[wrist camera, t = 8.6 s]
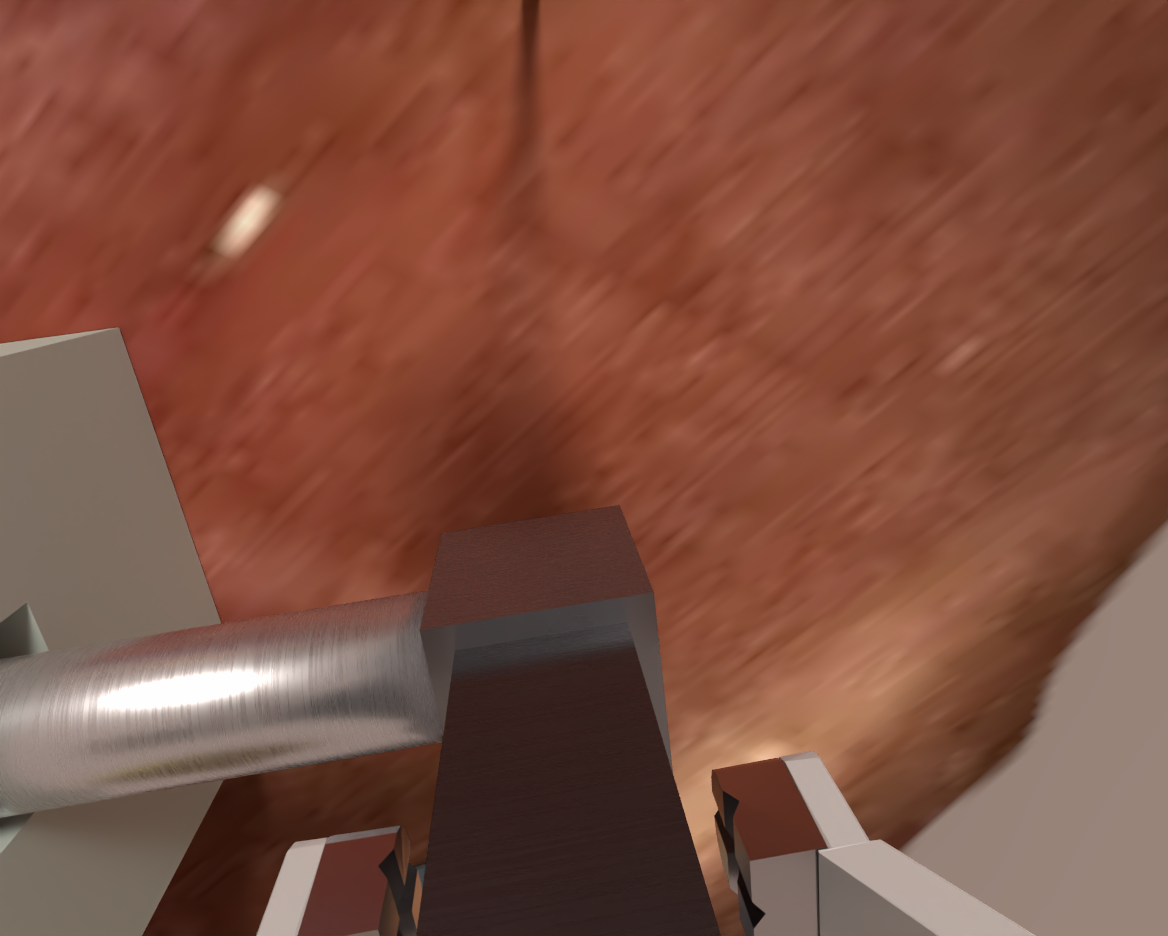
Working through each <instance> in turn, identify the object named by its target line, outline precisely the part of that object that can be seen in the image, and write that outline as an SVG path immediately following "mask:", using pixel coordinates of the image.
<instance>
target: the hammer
mask: <svg viewBox="0 0 1168 936" xmlns="http://www.w3.org/2000/svg"><path fill="white" fill-rule="evenodd" d="M440 742H442V748H441V756H440V763H439V770H438V778H437V785H436V792H435V800H434V807H433V815H432V822H431V829H430V837H429V844H428V851H427V859H426V866H425V874H424V881H423V888H422V896H421V903H420V910H419V918H418V925H417V932H416V936H721V935H720V931H719V928H718V925H717V921H716V918H715V914H714V911H713V908H712V904H711V901H710V898H709V894H708V891H707V887H706V884H705V881H704V877H703V874H702V871H701V867H700V864H699V860H698V857H697V854H696V850H695V847H694V844H693V840H692V837H691V833H690V830H689V827H688V823H687V820H686V817H685V813H684V810H683V806H682V803H681V800H680V796H679V793H678V790H677V786H676V783H675V779H674V776H673V770H672V760H671V751H670V742H669V732H668V723H667V713H666V704H665V695H664V685H663V676H662V666H661V657H660V648H659V638H658V629H657V619H656V610H655V601H654V592H653V589H652V587H651V584H650V582H649V579H648V577H647V574H646V571H645V569H644V566H643V564H642V561H641V559H640V556H639V554H638V551H637V549H636V546H635V543H634V541H633V538H632V536H631V533H630V531H629V528H628V526H627V523H626V520H625V518H624V515H623V513H622V510H621V508H620V505H618V506H612V507H605V508H599V509H592V510H586V511H580V512H573V513H567V514H560V515H554V516H548V517H541V518H535V519H528V520H522V521H516V522H509V523H503V524H496V525H490V526H484V527H477V528H471V529H464V530H458V531H452V532H445V533H442V535H441V539H440V543H439V548H438V552H437V556H436V561H435V565H434V569H433V574H432V578H431V582H430V587H429V590H427V591H421V592H415V593H408V594H402V595H396V596H390V597H383V598H377V599H371V600H365V601H358V602H352V603H346V604H340V605H333V606H327V607H321V608H315V609H308V610H302V611H296V612H290V613H284V614H277V615H271V616H265V617H259V618H252V619H246V620H240V621H234V622H227V623H221V624H215V625H209V626H202V627H196V628H190V629H184V630H177V631H171V632H165V633H159V634H153V635H146V636H140V637H134V638H128V639H121V640H115V641H109V642H103V643H96V644H90V645H84V646H78V647H71V648H65V649H59V650H53V651H46V652H40V653H34V654H28V655H22V656H15V657H9V658H3V659H0V818H3V817H9V816H15V815H20V814H26V813H32V812H38V811H44V810H50V809H55V808H61V807H67V806H73V805H79V804H85V803H90V802H96V801H102V800H108V799H114V798H120V797H125V796H131V795H137V794H143V793H149V792H155V791H160V790H166V789H172V788H178V787H184V786H190V785H195V784H201V783H207V782H213V781H219V780H225V779H230V778H236V777H242V776H248V775H254V774H260V773H265V772H271V771H277V770H283V769H289V768H294V767H300V766H306V765H312V764H318V763H324V762H329V761H335V760H341V759H347V758H353V757H359V756H364V755H370V754H376V753H382V752H388V751H394V750H399V749H405V748H411V747H417V746H423V745H429V744H434V743H440Z"/></svg>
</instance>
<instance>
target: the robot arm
mask: <svg viewBox="0 0 1168 936" xmlns="http://www.w3.org/2000/svg"><path fill="white" fill-rule="evenodd" d="M711 779H712V792H713V795H714V798H715V801H716V803H717V806H718V809H719V810H718V811H717V813H716V814H715V816H714V817H715V826H716V835H717V841H718V846H719V851H720V856H721V860H722V864H723V867H724V871H725V874H726V877H727V880H728V883H729V887H730V889H732V890H733V891H734V892H735V893H737V894H738V899H739V911H740V920H741V923H742V925H743V928H744V931H745V934H746V936H1036V935H1034V934H1033V933H1031V932H1030V931H1028V930H1026V929H1024V928H1023V927H1021V926H1020V925H1018V924H1017V923H1015V922H1013V921H1012V920H1010V919H1009V918H1007V917H1005V916H1004V915H1002V914H1000V913H999V912H997V911H996V910H994V909H992V908H991V907H989V906H987V905H986V904H984V903H983V902H981V901H979V900H978V899H976V898H975V897H973V896H971V895H970V894H968V893H966V892H965V891H963V890H962V889H960V888H958V887H957V886H955V885H953V884H952V883H950V882H948V881H947V880H945V879H944V878H942V877H941V876H939V875H937V874H936V873H934V872H932V871H931V870H929V869H927V868H926V867H924V866H923V865H921V864H919V863H918V862H916V861H915V860H913V859H911V858H910V857H908V856H907V855H905V854H903V853H902V852H900V851H898V850H897V849H895V848H894V847H892V846H890V845H889V844H887V843H885V842H884V841H882V840H874V841H870V840H869V839H868V837H867V835H866V834H865V832H864V830H863V829H862V827H861V825H860V824H859V822H858V820H857V819H856V817H855V815H854V814H853V812H852V810H851V809H850V807H849V805H848V804H847V802H846V800H845V799H844V797H843V795H842V793H841V792H840V790H839V788H838V787H837V785H836V783H835V782H834V780H833V778H832V777H831V775H830V773H829V772H828V770H827V768H826V767H825V765H824V763H823V762H822V760H821V758H820V757H819V755H818V754H816V753H815V752H814V751H809V752H804V753H799V754H794V755H788V756H783V757H780V758H779V759H778V758H774V759H768V760H763V761H758V762H752V763H747V764H742V765H736V766H731V767H725V768H720V769H715V770H712V776H711ZM410 849H411V844H410V841H409V837H408V834H407V831H406V828H405V827H403V826H394V827H387V828H381V829H374V830H367V831H361V832H354V833H347V834H341V835H334V836H331V837H327V838H320V839H313V840H306V841H299V842H295V843H294V844H293V845H292V846H291V848H290V849H289V850H288V851H287V853H286V856H285V858H284V861H283V864H282V866H281V869H280V872H279V875H278V877H277V880H276V883H275V886H274V888H273V891H272V894H271V897H270V899H269V902H268V905H267V907H266V910H265V913H264V916H263V918H262V921H261V924H260V927H259V929H258V932H257V935H256V936H416V932H417V925H418V918H419V910H420V903H421V896H422V886H421V881H420V877H419V873H418V869H416V868H415V867H413V866H412V865H411V864H409V863H408V862H409V855H410Z"/></svg>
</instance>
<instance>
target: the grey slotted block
mask: <svg viewBox="0 0 1168 936" xmlns="http://www.w3.org/2000/svg"><path fill="white" fill-rule="evenodd" d="M215 624H221V621H220V618H219V615H218V612H217V610H216V607H215V604H214V601H213V598H212V595H211V592H210V589H209V586H208V584H207V581H206V578H205V575H204V572H203V569H202V566H201V563H200V560H199V558H198V555H197V552H196V549H195V546H194V543H193V540H192V537H191V534H190V532H189V529H188V526H187V523H186V520H185V517H184V514H183V511H182V508H181V506H180V503H179V500H178V497H177V494H176V491H175V488H174V485H173V482H172V480H171V477H170V474H169V471H168V468H167V465H166V462H165V459H164V456H163V454H162V451H161V448H160V445H159V442H158V439H157V436H156V433H155V430H154V428H153V425H152V422H151V419H150V416H149V413H148V410H147V407H146V404H145V401H144V399H143V396H142V393H141V390H140V387H139V384H138V381H137V378H136V375H135V373H134V370H133V367H132V364H131V361H130V358H129V355H128V352H127V349H126V347H125V344H124V341H123V338H122V335H121V332H120V329H119V327H118V328H111V329H104V330H97V331H89V332H82V333H75V334H68V335H61V336H53V337H46V338H39V339H32V340H24V341H17V342H10V343H3V344H0V659H3V658H9V657H15V656H22V655H28V654H34V653H40V652H46V651H53V650H59V649H65V648H71V647H78V646H84V645H90V644H96V643H103V642H109V641H115V640H121V639H128V638H134V637H140V636H146V635H153V634H159V633H165V632H171V631H177V630H184V629H190V628H196V627H202V626H209V625H215ZM222 782H223V780H219V781H213V782H207V783H201V784H195V785H190V786H184V787H178V788H172V789H166V790H160V791H155V792H149V793H143V794H137V795H131V796H125V797H120V798H114V799H108V800H102V801H96V802H90V803H85V804H79V805H73V806H67V807H61V808H55V809H50V810H44V811H38V812H32V813H26V814H20V815H15V816H9V817H3V818H0V936H142V935H143V933H144V931H145V929H146V927H147V925H148V923H149V921H150V919H151V918H152V916H153V914H154V912H155V910H156V908H157V906H158V904H159V902H160V900H161V898H162V897H163V895H164V893H165V891H166V889H167V887H168V885H169V883H170V881H171V879H172V877H173V876H174V874H175V872H176V870H177V868H178V866H179V864H180V862H181V860H182V858H183V856H184V855H185V853H186V851H187V849H188V847H189V845H190V843H191V841H192V839H193V837H194V836H195V834H196V832H197V830H198V828H199V826H200V824H201V822H202V820H203V818H204V816H205V815H206V813H207V811H208V809H209V807H210V805H211V803H212V801H213V799H214V797H215V795H216V794H217V792H218V790H219V788H220V786H221V784H222Z"/></svg>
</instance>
